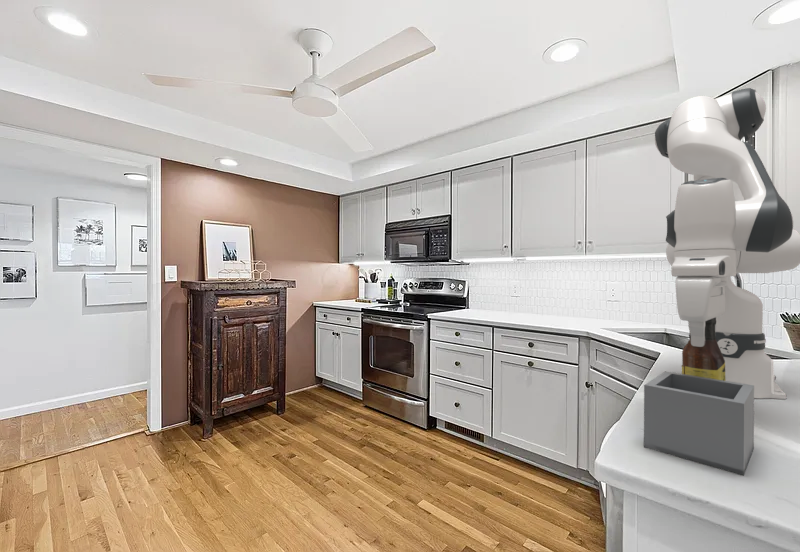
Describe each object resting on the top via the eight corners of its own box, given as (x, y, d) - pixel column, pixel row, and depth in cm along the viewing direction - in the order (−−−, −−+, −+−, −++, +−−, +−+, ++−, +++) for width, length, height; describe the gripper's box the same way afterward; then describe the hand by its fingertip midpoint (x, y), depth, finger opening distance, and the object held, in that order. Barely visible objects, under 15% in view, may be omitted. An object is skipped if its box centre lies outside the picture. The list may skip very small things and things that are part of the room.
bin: (665, 427, 68) (665, 371, 67) (753, 449, 59) (754, 385, 59) (643, 448, 59) (644, 384, 59) (743, 478, 51) (744, 403, 51)
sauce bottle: (735, 433, 65) (735, 317, 65) (693, 429, 66) (694, 316, 66) (711, 418, 72) (712, 313, 71) (674, 416, 73) (675, 312, 73)
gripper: (694, 268, 78) (694, 335, 78) (668, 265, 64) (668, 347, 64) (735, 267, 73) (734, 339, 73) (716, 265, 60) (716, 352, 60)
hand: (703, 343), depth 69 cm, fingers open, 8 cm apart
